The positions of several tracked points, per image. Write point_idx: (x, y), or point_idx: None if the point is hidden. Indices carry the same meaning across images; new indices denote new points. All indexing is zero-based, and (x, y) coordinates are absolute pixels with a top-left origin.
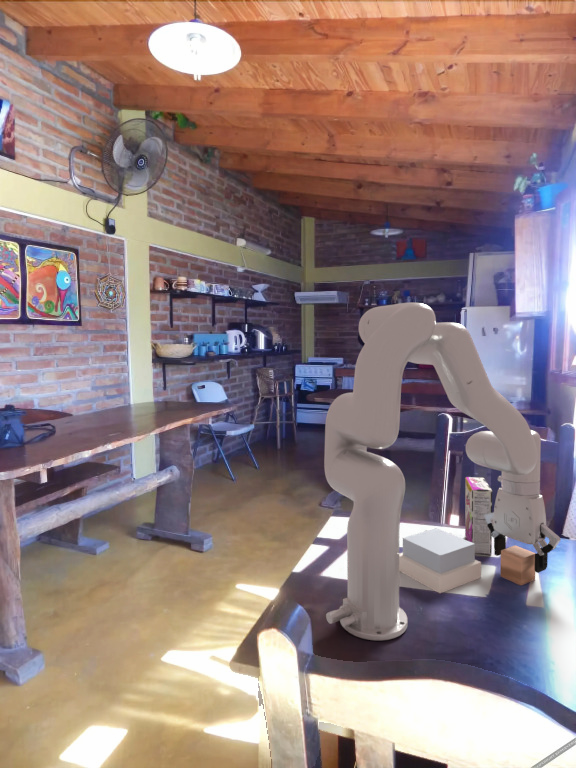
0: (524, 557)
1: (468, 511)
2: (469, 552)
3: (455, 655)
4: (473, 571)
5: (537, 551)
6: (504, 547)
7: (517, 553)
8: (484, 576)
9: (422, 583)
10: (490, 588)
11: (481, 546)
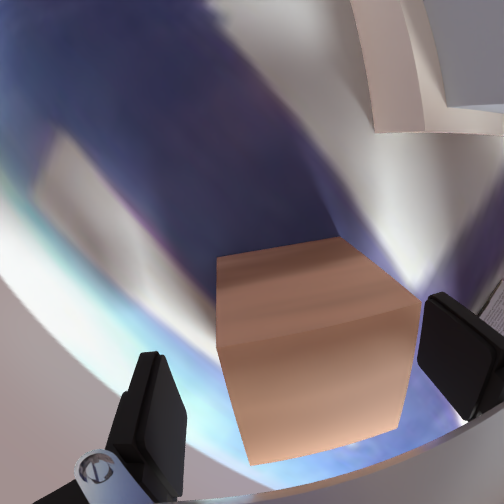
0: (228, 381)
1: None
2: (488, 41)
3: None
4: (391, 64)
5: (120, 470)
6: (435, 373)
7: (312, 382)
8: (374, 158)
9: None
10: (262, 79)
11: (502, 321)
